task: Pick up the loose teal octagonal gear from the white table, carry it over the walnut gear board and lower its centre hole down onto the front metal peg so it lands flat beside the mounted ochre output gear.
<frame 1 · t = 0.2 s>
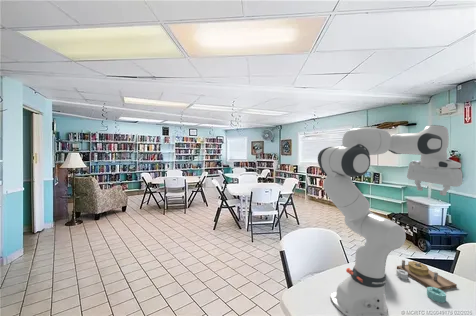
hand: (430, 192, 99), 47 cm above the table, fingers open, 8 cm apart
supplement box: (373, 271, 119), on the table
grey gear: (402, 276, 114), on the table
teal gear: (435, 297, 99), on the table
gear board: (424, 277, 114), on the table
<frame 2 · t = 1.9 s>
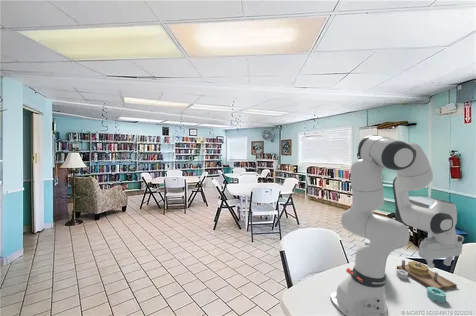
hand: (438, 266, 98), 15 cm above the table, fingers open, 8 cm apart
nothing on the table moved.
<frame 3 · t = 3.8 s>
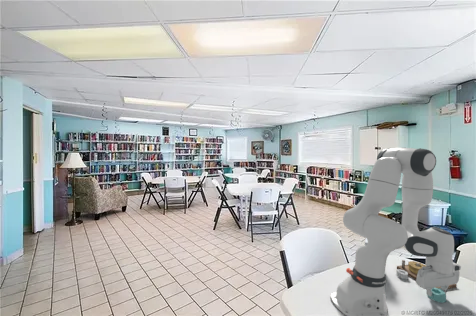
hand: (436, 294, 99), 2 cm above the table, fingers closed on teal gear, 6 cm apart
teal gear: (435, 297, 99), on the table, touching gripper
everything else where it was.
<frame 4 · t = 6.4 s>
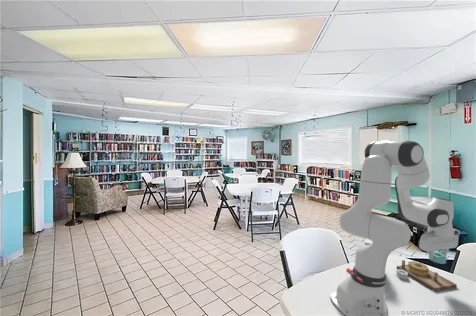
hand: (437, 257, 108), 13 cm above the table, fingers closed on teal gear, 6 cm apart
teal gear: (437, 260, 108), point 12 cm above the table, touching gripper
everything else where it was.
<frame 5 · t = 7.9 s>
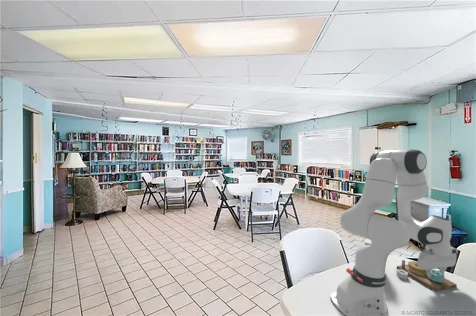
hand: (435, 275, 109), 4 cm above the table, fingers closed on teal gear, 6 cm apart
teal gear: (435, 278, 109), point 2 cm above the table, touching gripper
everything else where it was.
when the fingers open (4 cm above the table, at t = 8.8 s): teal gear stays where it is, resting on gear board.
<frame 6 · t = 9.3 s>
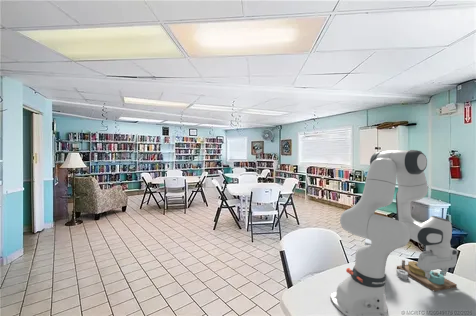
hand: (435, 276, 109), 4 cm above the table, fingers open, 8 cm apart
teal gear: (435, 280, 109), point 1 cm above the table, touching gear board
everything else where it was.
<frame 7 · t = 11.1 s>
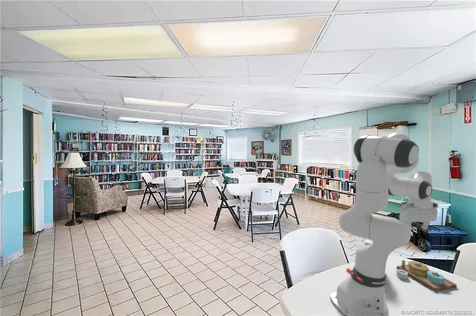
hand: (417, 229, 113), 25 cm above the table, fingers open, 8 cm apart
nothing on the table moved.
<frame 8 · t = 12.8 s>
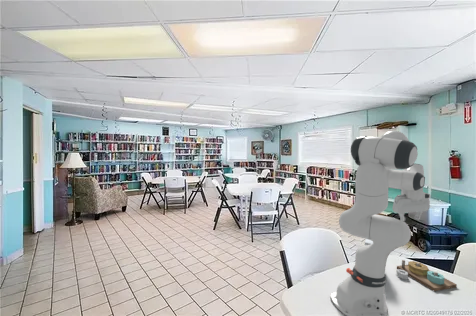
hand: (409, 220, 115), 29 cm above the table, fingers open, 8 cm apart
nothing on the table moved.
at the end: teal gear 0.1 cm from the target spot on the gear board, point 1.5 cm above the gear board's base; teal gear tilted 0°; the gripper is holding nothing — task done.
